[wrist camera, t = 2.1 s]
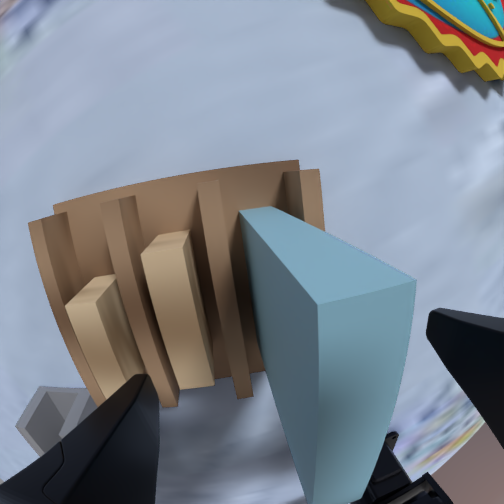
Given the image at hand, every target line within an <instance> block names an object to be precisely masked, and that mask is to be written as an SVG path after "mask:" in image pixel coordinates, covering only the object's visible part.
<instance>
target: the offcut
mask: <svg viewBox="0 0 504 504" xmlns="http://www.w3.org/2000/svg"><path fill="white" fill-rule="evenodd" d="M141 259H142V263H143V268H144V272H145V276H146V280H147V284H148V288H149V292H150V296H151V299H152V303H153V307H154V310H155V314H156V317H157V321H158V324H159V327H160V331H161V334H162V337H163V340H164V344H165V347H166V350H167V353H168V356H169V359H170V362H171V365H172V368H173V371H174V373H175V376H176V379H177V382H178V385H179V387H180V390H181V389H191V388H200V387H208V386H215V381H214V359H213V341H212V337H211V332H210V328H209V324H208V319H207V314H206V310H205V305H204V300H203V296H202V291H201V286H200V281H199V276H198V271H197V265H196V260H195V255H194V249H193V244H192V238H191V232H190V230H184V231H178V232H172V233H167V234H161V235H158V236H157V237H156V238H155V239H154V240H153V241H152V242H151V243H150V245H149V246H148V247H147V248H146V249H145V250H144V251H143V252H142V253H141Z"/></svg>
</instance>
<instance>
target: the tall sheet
mask: <svg viewBox="0 0 504 504" xmlns="http://www.w3.org/2000/svg"><path fill="white" fill-rule="evenodd" d="M239 217H240V224H241V232H242V239H243V246H244V253H245V260H246V267H247V274H248V282H249V289H250V296H251V303H252V310H253V316H254V323H255V330H256V337H257V344H258V347H259V350H260V354H261V357H262V360H263V364H264V367H265V371H266V374H267V377H268V380H269V384H270V387H271V390H272V394H273V397H274V400H275V403H276V407H277V410H278V413H279V416H280V420H281V423H282V426H283V429H284V432H285V436H286V439H287V442H288V445H289V448H290V451H291V454H292V458H293V461H294V464H295V467H296V470H297V473H298V476H299V479H300V482H301V485H302V488H303V491H304V494H305V497H306V500H307V503H308V504H348V503H351V502H354V501H356V500H359V499H361V498H362V496H363V493H364V491H365V489H366V487H367V484H368V482H369V480H370V477H371V475H372V472H373V470H374V467H375V465H376V462H377V460H378V457H379V454H380V451H381V449H382V446H383V443H384V440H385V437H386V434H387V431H388V428H389V424H390V421H391V418H392V414H393V411H394V407H395V404H396V400H397V396H398V392H399V388H400V384H401V379H402V375H403V370H404V366H405V361H406V356H407V350H408V345H409V339H410V332H411V326H412V319H413V311H414V302H415V293H416V281H417V280H416V279H414V278H412V277H411V276H409V275H407V274H405V273H403V272H402V271H400V270H398V269H396V268H394V267H392V266H390V265H389V264H387V263H385V262H383V261H381V260H379V259H377V258H375V257H374V256H372V255H370V254H368V253H366V252H364V251H362V250H360V249H358V248H356V247H354V246H352V245H350V244H348V243H346V242H344V241H342V240H340V239H338V238H336V237H334V236H332V235H330V234H328V233H326V232H324V231H322V230H320V229H318V228H316V227H314V226H312V225H310V224H308V223H306V222H304V221H302V220H300V219H298V218H295V217H293V216H291V215H289V214H287V213H285V212H283V211H281V210H278V209H276V208H274V207H272V206H268V207H261V208H254V209H247V210H240V211H239Z"/></svg>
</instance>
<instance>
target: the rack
mask: <svg viewBox="0 0 504 504" xmlns="http://www.w3.org/2000/svg"><path fill="white" fill-rule="evenodd" d="M268 206H272V207H274V208H276V209H278V210H281V211H283V212H285V213H287V214H289V215H291V216H293V217H295V218H298V219H300V220H302V221H304V222H306V223H308V224H310V225H312V226H314V227H316V228H318V229H320V230H322V231H324V232H325V226H324V213H323V202H322V191H321V181H320V172H319V169H310V170H300V168H299V160H289V161H279V162H269V163H260V164H251V165H243V166H236V167H228V168H221V169H214V170H208V171H202V172H195V173H189V174H184V175H178V176H173V177H167V178H162V179H157V180H152V181H147V182H142V183H137V184H133V185H128V186H124V187H119V188H115V189H111V190H107V191H103V192H99V193H95V194H91V195H87V196H83V197H79V198H76V199H72V200H69V201H65V202H62V203H58V204H55V205H53V208H54V214H55V215H52V216H49V217H45V218H42V219H39V220H35V221H32V222H29V223H28V226H29V231H30V235H31V240H32V244H33V249H34V253H35V257H36V261H37V264H38V268H39V271H40V275H41V278H42V282H43V285H44V288H45V291H46V294H47V297H48V300H49V303H50V306H51V309H52V312H53V314H54V317H55V320H56V322H57V325H58V327H59V330H60V332H61V335H62V337H63V339H64V342H65V344H66V346H67V349H68V351H69V353H70V355H71V357H72V360H73V362H74V364H75V366H76V368H77V370H78V372H79V374H80V376H81V378H82V380H83V382H84V384H85V386H86V387H87V389H88V391H89V393H90V395H91V397H92V398H93V400H94V402H95V404H96V405H97V407H99V406H100V405H101V404H102V403H103V402H104V401H105V400H106V398H105V396H104V394H103V392H102V391H101V389H100V387H99V385H98V383H97V381H96V379H95V377H94V375H93V373H92V371H91V369H90V366H89V364H88V362H87V360H86V358H85V356H84V353H83V351H82V349H81V346H80V344H79V342H78V339H77V337H76V334H75V332H74V329H73V327H72V324H71V322H70V319H69V316H68V314H67V311H66V308H65V305H66V304H67V303H68V302H69V301H70V300H72V299H73V298H74V297H75V296H76V295H77V294H78V293H79V292H80V291H81V290H82V289H83V288H84V287H85V286H86V285H87V284H88V283H89V282H90V281H91V280H92V279H93V278H94V277H100V276H106V275H112V274H115V275H116V279H117V283H118V286H119V290H120V293H121V297H122V300H123V304H124V307H125V310H126V313H127V316H128V320H129V323H130V326H131V329H132V332H133V334H134V337H135V340H136V343H137V346H138V349H139V351H140V354H141V357H142V359H143V362H144V364H145V368H144V371H143V373H147V374H149V375H150V377H151V379H152V382H153V384H154V386H155V389H156V391H157V393H158V397H159V400H160V403H161V405H162V407H177V406H178V400H179V390H180V387H179V385H178V382H177V379H176V376H175V373H174V371H173V368H172V365H171V362H170V359H169V356H168V353H167V350H166V347H165V344H164V340H163V337H162V334H161V331H160V327H159V324H158V321H157V317H156V314H155V310H154V307H153V303H152V299H151V296H150V292H149V288H148V284H147V280H146V276H145V272H144V268H143V263H142V259H141V253H142V252H143V251H144V250H145V249H146V248H147V247H148V246H149V245H150V243H151V242H152V241H153V240H154V239H155V238H156V237H157V236H158V235H161V234H167V233H172V232H178V231H184V230H190V232H191V238H192V244H193V249H194V255H195V260H196V265H197V271H198V276H199V281H200V286H201V291H202V296H203V300H204V305H205V310H206V314H207V319H208V324H209V328H210V332H211V337H212V341H213V359H214V379H219V378H225V377H232V378H233V382H234V387H235V391H236V395H237V399H242V398H248V397H254V396H253V390H252V385H251V379H250V373H255V372H261V371H265V367H264V364H263V360H262V357H261V354H260V350H259V347H258V344H257V337H256V330H255V323H254V316H253V310H252V303H251V296H250V289H249V282H248V274H247V267H246V260H245V253H244V246H243V239H242V232H241V224H240V217H239V211H240V210H247V209H254V208H261V207H268Z"/></svg>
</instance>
